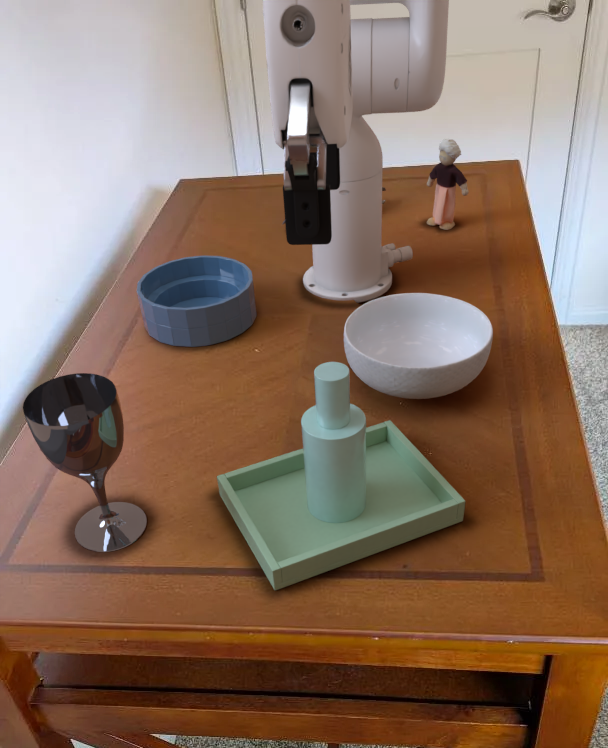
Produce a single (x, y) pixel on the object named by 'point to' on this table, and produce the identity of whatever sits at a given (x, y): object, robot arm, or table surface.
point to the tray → (338, 540)
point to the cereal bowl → (417, 344)
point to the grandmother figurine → (446, 185)
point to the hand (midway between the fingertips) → (315, 214)
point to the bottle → (334, 448)
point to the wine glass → (86, 450)
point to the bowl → (197, 300)
